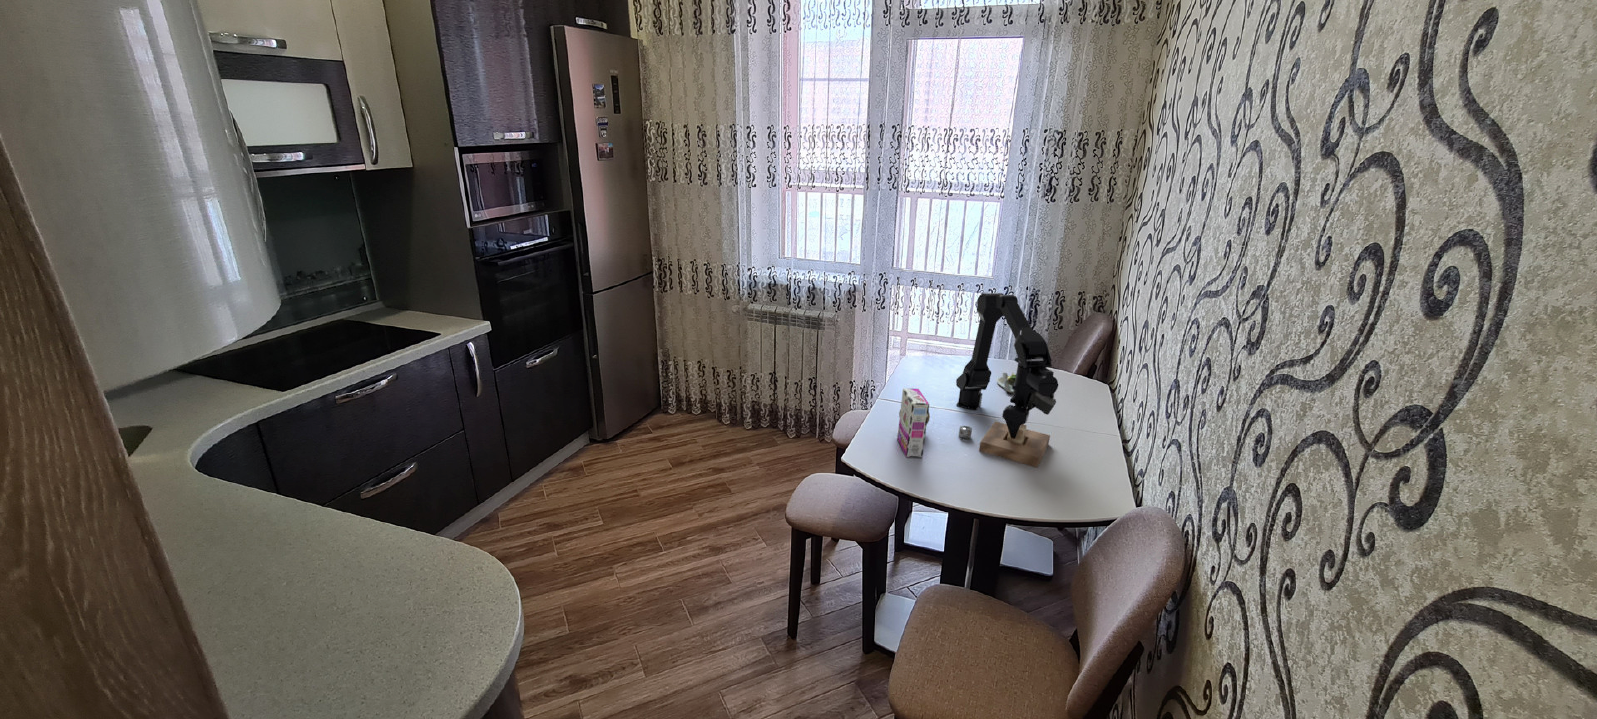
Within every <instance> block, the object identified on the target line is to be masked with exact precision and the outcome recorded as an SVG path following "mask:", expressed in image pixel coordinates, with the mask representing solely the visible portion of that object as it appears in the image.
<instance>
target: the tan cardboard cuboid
mask: <svg viewBox="0 0 1597 719" xmlns="http://www.w3.org/2000/svg"><path fill="white" fill-rule="evenodd" d="M1027 426H1028V425H1027V424H1022V425H1020V428H1019V430H1018V433H1017V435H1016V438H1015V439H1013V438H1011V436H1010V433H1009V431H1008V437H1007V441H1010V442H1014V443H1017V444H1021V445H1023V443H1024V438H1025V432H1026V429H1027Z"/></svg>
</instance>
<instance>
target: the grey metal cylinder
mask: <svg viewBox="0 0 1597 719" xmlns="http://www.w3.org/2000/svg"><path fill="white" fill-rule="evenodd" d="M972 432H973V428H972V427H971V426H969V425H961V426H959V430H958V436H957V437H958V438H959V439H960V440H962V441H970V440H971V439H972Z"/></svg>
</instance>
